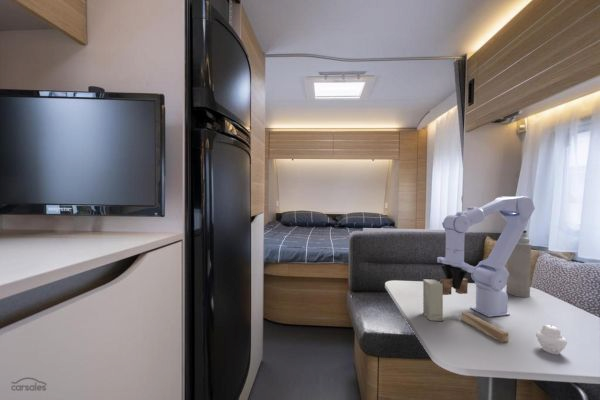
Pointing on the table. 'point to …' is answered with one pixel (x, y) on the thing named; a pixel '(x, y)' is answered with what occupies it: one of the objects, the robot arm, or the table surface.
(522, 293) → the thermos bottle
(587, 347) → the table surface
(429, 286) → the skincare box
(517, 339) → the table surface
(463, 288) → the tall wooden block
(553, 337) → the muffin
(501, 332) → the oak rail
